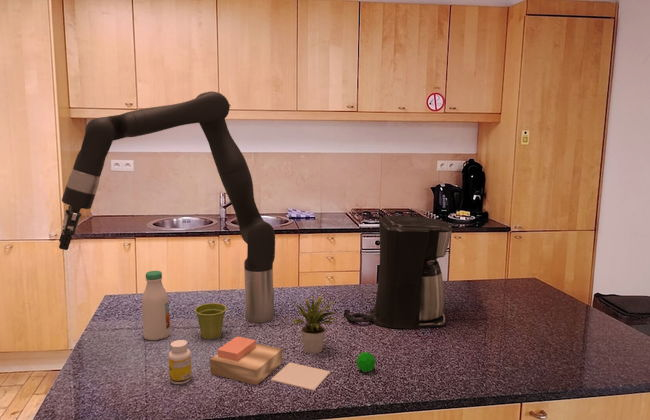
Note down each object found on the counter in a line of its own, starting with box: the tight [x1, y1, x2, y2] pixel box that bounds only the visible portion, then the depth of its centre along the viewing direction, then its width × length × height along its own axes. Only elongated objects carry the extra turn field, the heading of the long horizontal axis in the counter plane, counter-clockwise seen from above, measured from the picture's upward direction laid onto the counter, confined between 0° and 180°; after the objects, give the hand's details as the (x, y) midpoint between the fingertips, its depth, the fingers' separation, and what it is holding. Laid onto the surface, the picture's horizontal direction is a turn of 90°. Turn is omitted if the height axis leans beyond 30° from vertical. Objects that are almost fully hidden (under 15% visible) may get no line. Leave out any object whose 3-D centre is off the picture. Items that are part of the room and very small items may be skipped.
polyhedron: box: [355, 351, 377, 373], centre depth 132 cm, size 5×5×5 cm
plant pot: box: [194, 302, 227, 340], centre depth 152 cm, size 9×9×9 cm
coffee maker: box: [343, 215, 454, 330], centre depth 163 cm, size 23×32×34 cm
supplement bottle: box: [168, 339, 193, 385], centre depth 126 cm, size 5×5×10 cm
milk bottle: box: [141, 270, 171, 341], centre depth 151 cm, size 8×8×20 cm
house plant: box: [292, 294, 340, 354], centre depth 142 cm, size 14×14×16 cm
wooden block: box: [209, 343, 283, 386], centre depth 133 cm, size 13×14×4 cm
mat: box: [270, 362, 331, 391], centre depth 129 cm, size 10×12×1 cm
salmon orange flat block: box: [217, 336, 257, 361], centre depth 133 cm, size 9×6×2 cm, turn 156°
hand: (63, 245), depth 136 cm, fingers open, 8 cm apart
